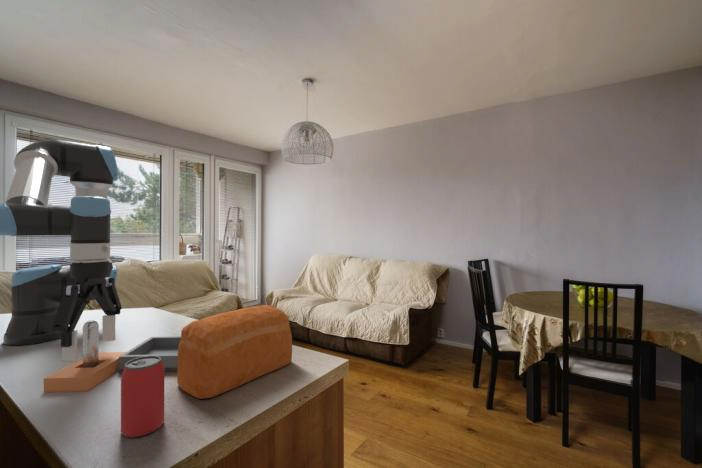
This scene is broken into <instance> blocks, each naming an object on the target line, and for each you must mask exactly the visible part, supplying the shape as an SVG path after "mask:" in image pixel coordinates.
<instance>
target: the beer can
mask: <svg viewBox="0 0 702 468" xmlns="http://www.w3.org/2000/svg"><path fill="white" fill-rule="evenodd" d="M164 422H165V372H164V366H163V364H162V362H161V358H160V357H159V356H144V357H139V358H135V359H132V360H130V361H128V362H127V363H126V364H125V368H124V371H123V373H121V378H120V432H121V434H122V435H123V436H124V437H126V438H140V437H144V436H147V435H150V434H151V433H154V432H155V431H157V430H159V428H160V427H161V426H162V425H163V424H164Z"/></svg>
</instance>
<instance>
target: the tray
mask: <svg viewBox="0 0 702 468" xmlns="http://www.w3.org/2000/svg"><path fill="white" fill-rule="evenodd" d="M180 342H181V335H180V336H151V337H149V338H147V339H146V340H144V341H142V342H141V343H139V344H137V345H136V346H134V347H132V348H131V349H129V350H128V351H125V352H126V353H124V354H123V355H121V356H119V370H118V374H122V373H123V371H124V368H125V364H126V363H127V362H128V361H130V360H132V359H135V358H139V357H144V356H159V357H160V358H161V362H162V364H163V366H164V373H166V372H167V373H168V372H171V373H172V372H177V365H178V348H179V343H180Z"/></svg>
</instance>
